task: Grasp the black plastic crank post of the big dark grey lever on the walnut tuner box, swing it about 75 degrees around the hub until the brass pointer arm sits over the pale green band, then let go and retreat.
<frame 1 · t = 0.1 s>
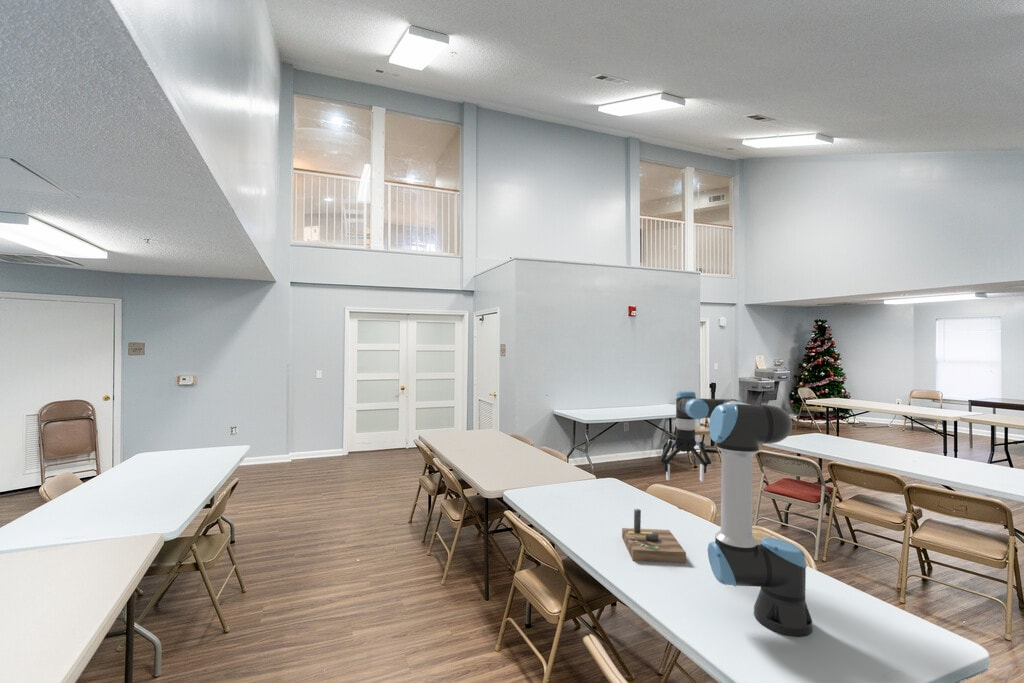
hand: (684, 480, 187), 28 cm above the table, fingers open, 13 cm apart
dark grey lever: (643, 524, 186), point 10 cm above the table, hinge at 0.0°
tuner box: (651, 549, 185), on the table
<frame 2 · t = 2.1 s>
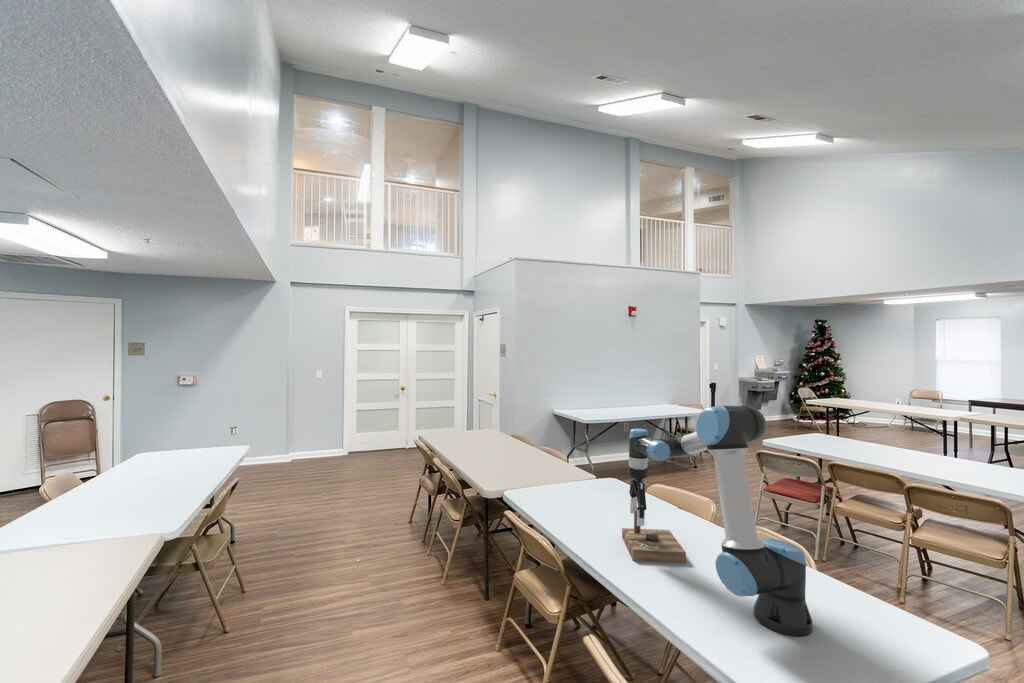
hand: (636, 519, 186), 12 cm above the table, fingers open, 13 cm apart
nothing on the table moved.
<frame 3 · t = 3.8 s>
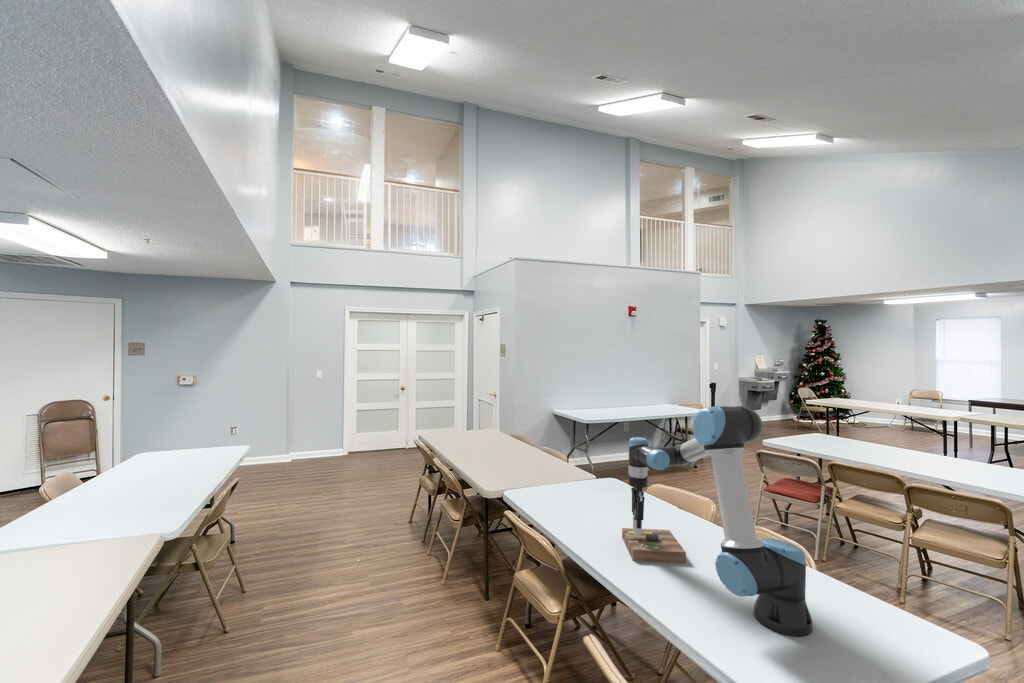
hand: (637, 533, 186), 6 cm above the table, fingers closed on dark grey lever, 3 cm apart
dark grey lever: (643, 524, 186), point 10 cm above the table, hinge at 0.0°, touching gripper
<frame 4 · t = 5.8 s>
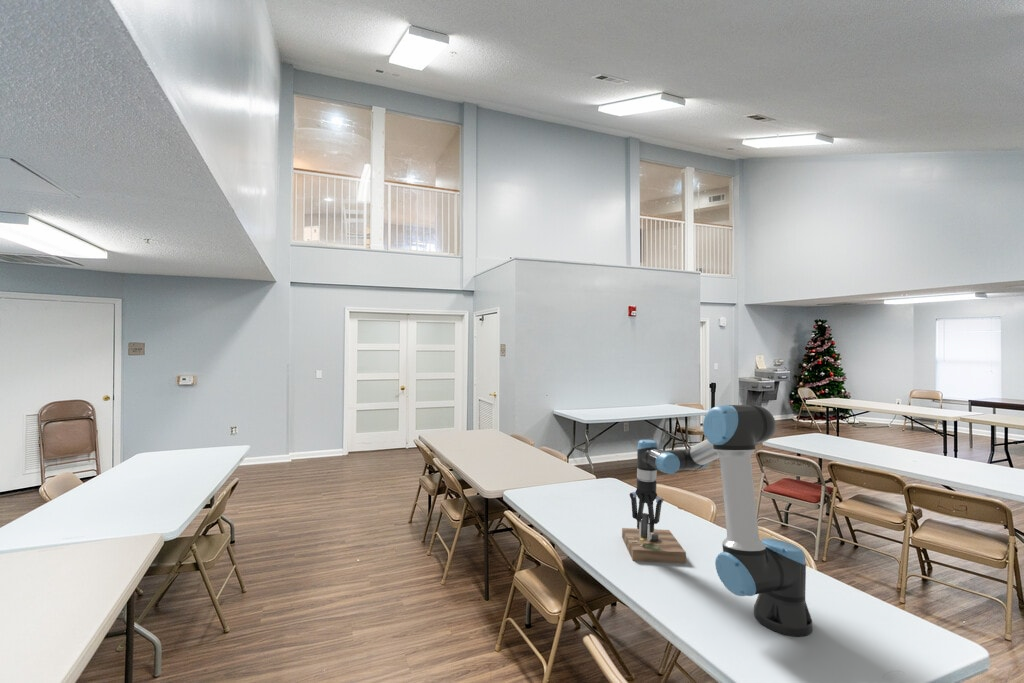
hand: (645, 538, 181), 6 cm above the table, fingers closed on dark grey lever, 3 cm apart
dark grey lever: (648, 527, 183), point 10 cm above the table, hinge at 50.1°, touching gripper
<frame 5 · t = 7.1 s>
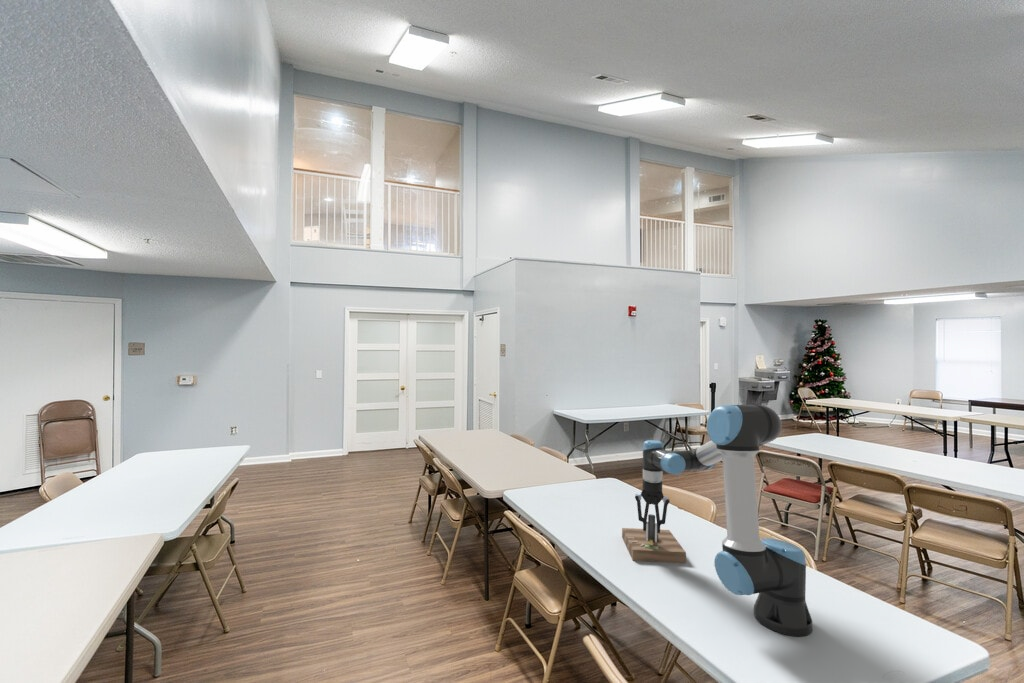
hand: (651, 539, 180), 6 cm above the table, fingers closed on dark grey lever, 3 cm apart
dark grey lever: (651, 527, 182), point 10 cm above the table, hinge at 73.7°, touching gripper
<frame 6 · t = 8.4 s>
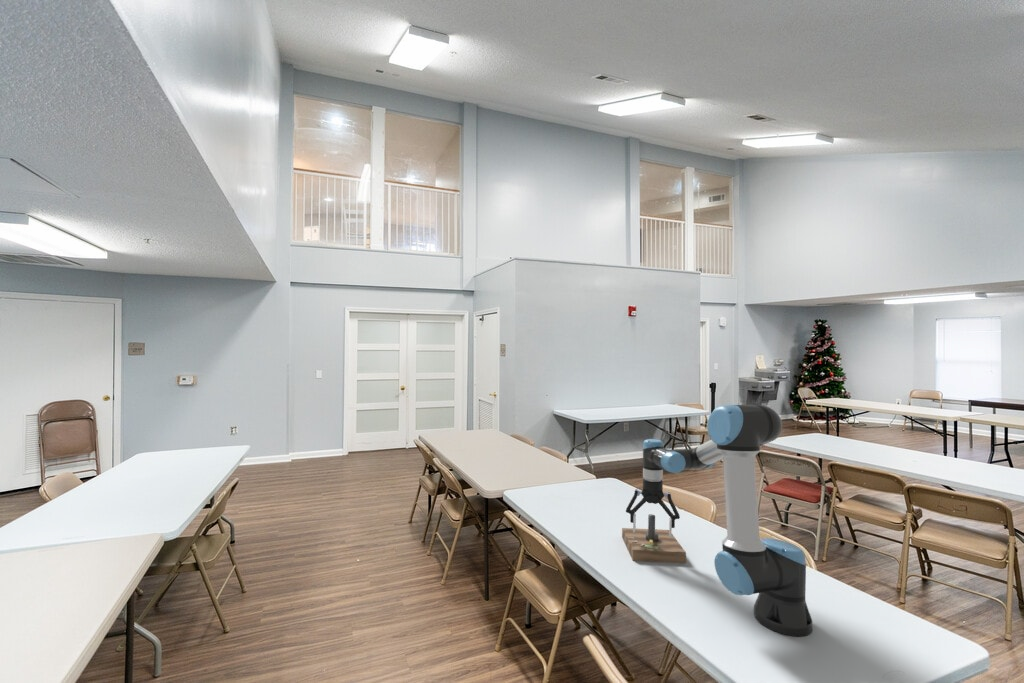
hand: (652, 533, 180), 9 cm above the table, fingers open, 13 cm apart
dark grey lever: (651, 527, 182), point 10 cm above the table, hinge at 73.8°
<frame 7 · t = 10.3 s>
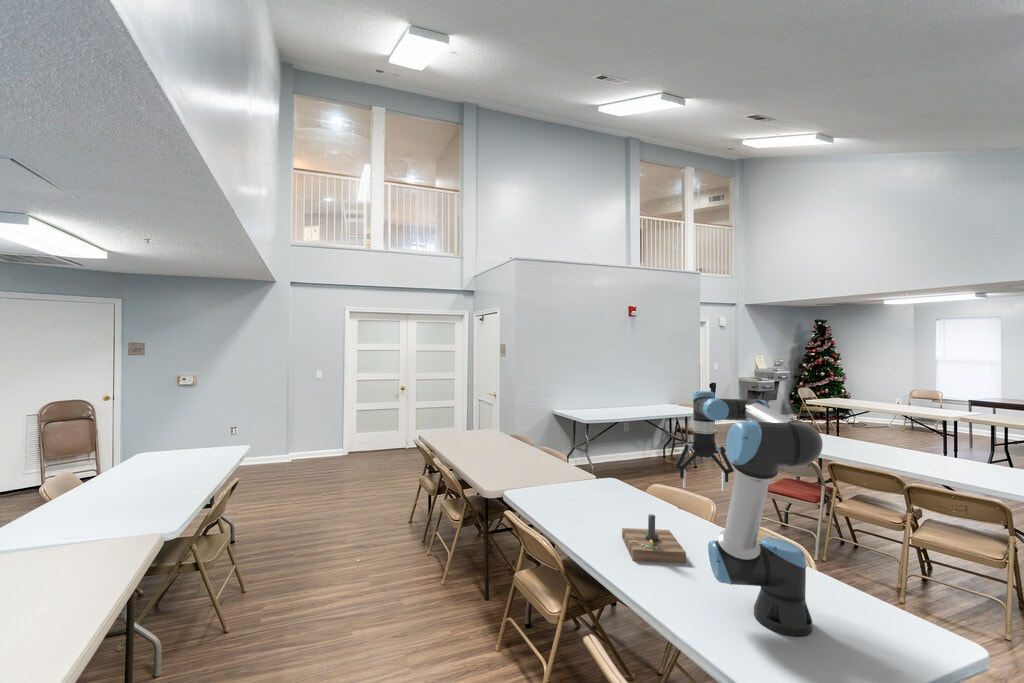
hand: (703, 489, 171), 29 cm above the table, fingers open, 13 cm apart
nothing on the table moved.
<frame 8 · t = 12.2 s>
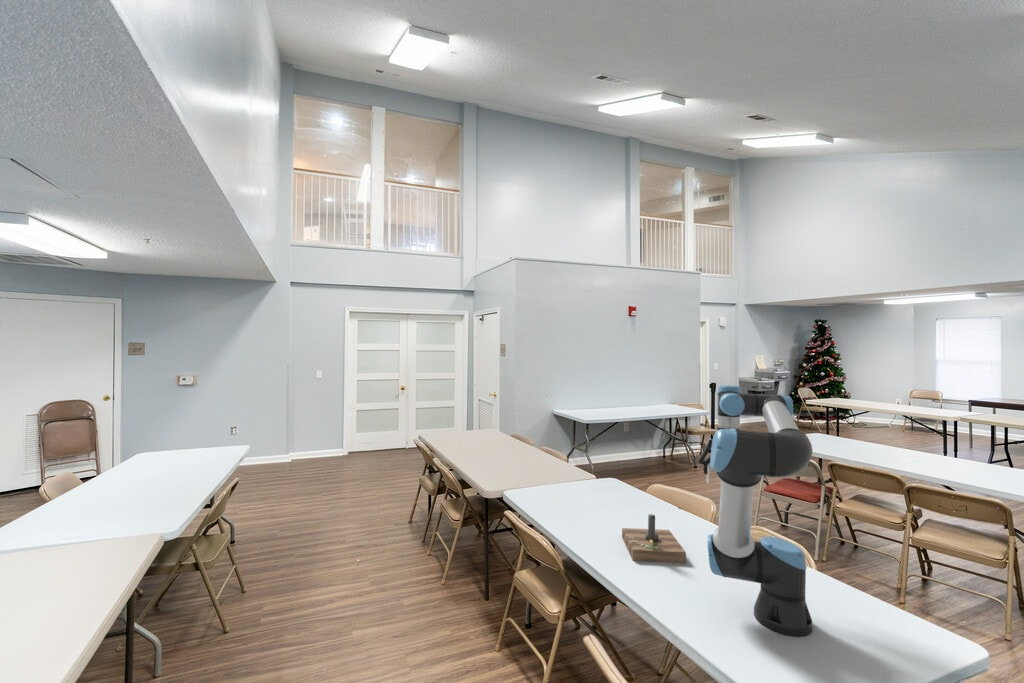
hand: (727, 485, 168), 32 cm above the table, fingers open, 13 cm apart
nothing on the table moved.
at the end: dark grey lever at +74° (first picture: +0°); the gripper is holding nothing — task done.
